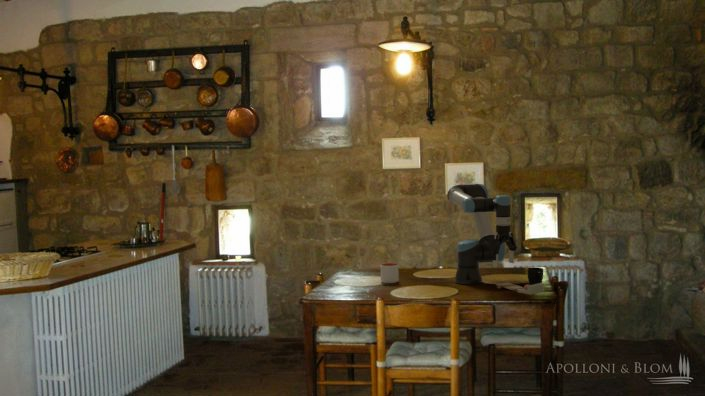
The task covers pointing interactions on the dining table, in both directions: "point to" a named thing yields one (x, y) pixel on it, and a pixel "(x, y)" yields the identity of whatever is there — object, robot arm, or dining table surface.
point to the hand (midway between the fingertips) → (503, 264)
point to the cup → (389, 273)
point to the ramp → (508, 286)
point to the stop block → (532, 289)
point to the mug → (535, 275)
